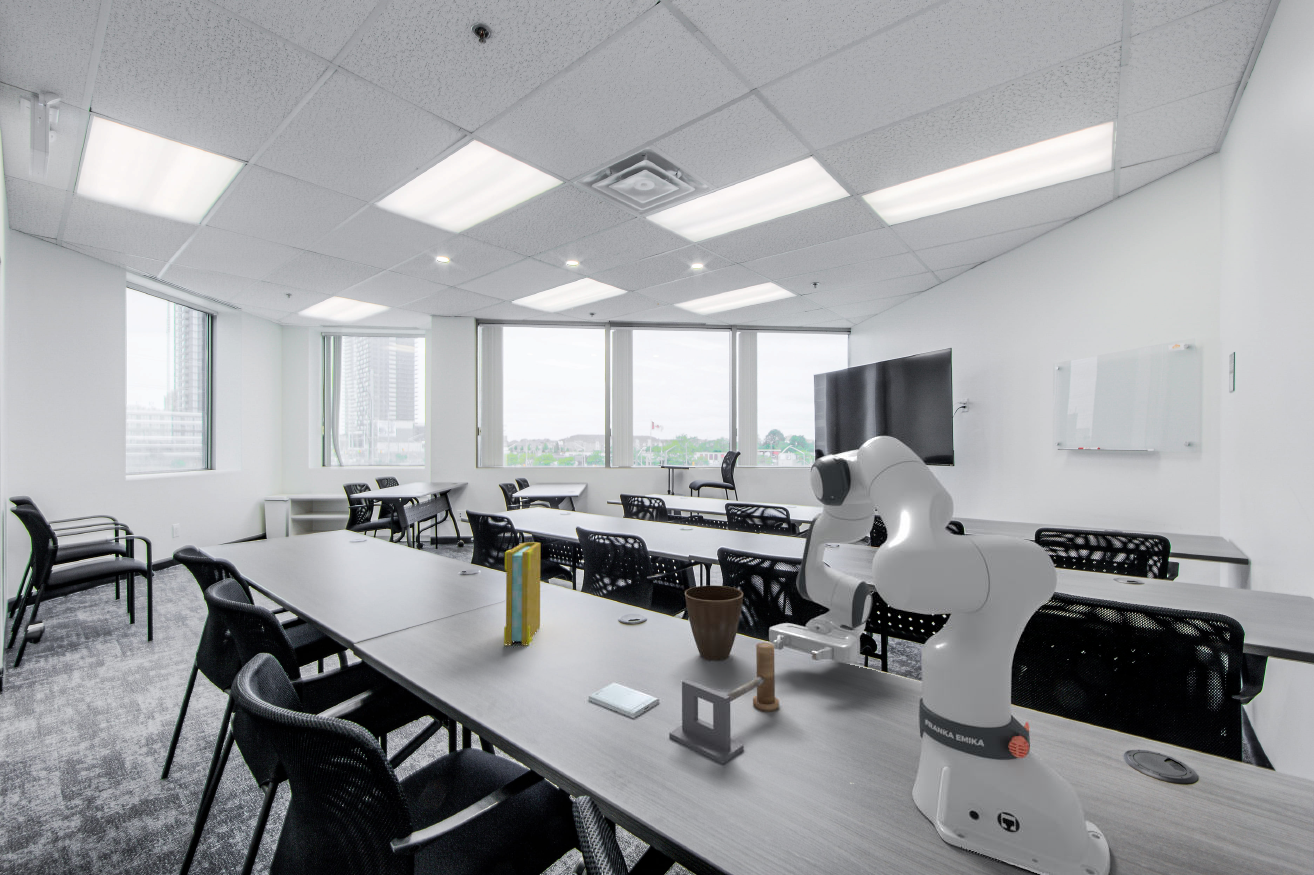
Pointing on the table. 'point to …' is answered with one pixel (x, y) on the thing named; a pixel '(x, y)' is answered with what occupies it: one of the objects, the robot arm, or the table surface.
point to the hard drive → (623, 699)
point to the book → (522, 592)
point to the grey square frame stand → (706, 724)
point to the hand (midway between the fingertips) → (795, 650)
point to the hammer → (761, 680)
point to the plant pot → (714, 619)
